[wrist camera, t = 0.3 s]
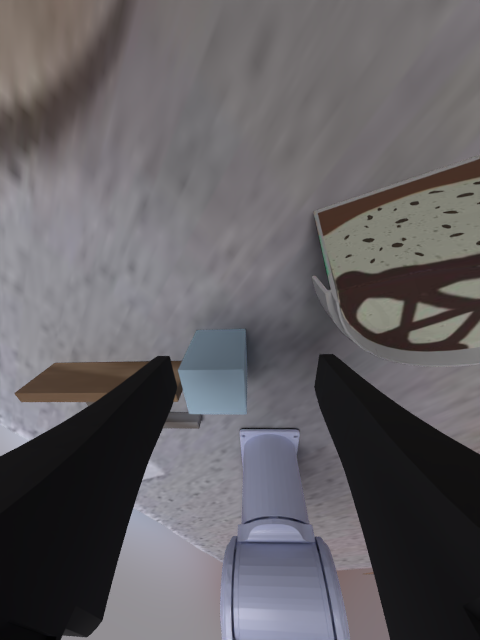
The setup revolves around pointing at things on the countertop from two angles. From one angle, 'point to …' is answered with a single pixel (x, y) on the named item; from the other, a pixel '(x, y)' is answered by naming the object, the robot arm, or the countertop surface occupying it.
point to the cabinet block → (215, 372)
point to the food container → (407, 267)
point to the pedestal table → (95, 386)
